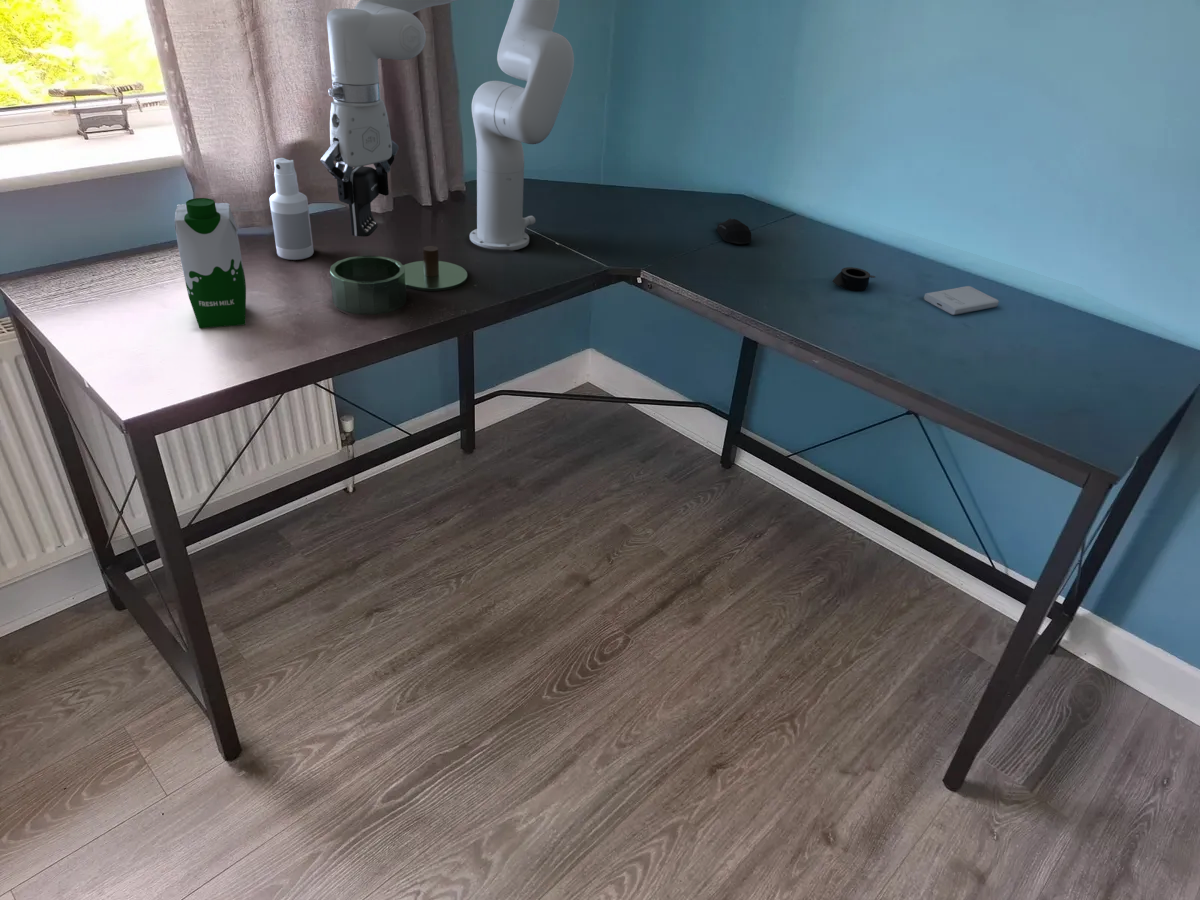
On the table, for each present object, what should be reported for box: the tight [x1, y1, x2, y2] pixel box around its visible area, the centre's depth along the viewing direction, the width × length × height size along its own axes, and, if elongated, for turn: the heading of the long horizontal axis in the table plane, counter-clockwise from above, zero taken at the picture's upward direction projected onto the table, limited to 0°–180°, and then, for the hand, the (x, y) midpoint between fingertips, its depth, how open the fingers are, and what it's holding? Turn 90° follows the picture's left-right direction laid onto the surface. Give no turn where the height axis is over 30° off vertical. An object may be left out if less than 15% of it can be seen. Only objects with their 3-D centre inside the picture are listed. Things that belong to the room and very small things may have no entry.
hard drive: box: [923, 285, 1000, 316], centre depth 169 cm, size 2×8×12 cm
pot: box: [329, 255, 407, 316], centre depth 146 cm, size 12×12×6 cm
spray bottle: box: [268, 157, 315, 261], centre depth 158 cm, size 7×7×18 cm
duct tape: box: [831, 266, 876, 293], centre depth 172 cm, size 8×10×3 cm
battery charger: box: [348, 165, 380, 238], centre depth 150 cm, size 7×4×11 cm, turn 175°
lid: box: [402, 245, 468, 292], centre depth 157 cm, size 13×13×6 cm
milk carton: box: [174, 197, 247, 329], centre depth 133 cm, size 9×9×20 cm
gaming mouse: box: [716, 218, 752, 245], centre depth 192 cm, size 6×15×4 cm, turn 13°
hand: (364, 197), depth 149 cm, fingers closed on battery charger, 7 cm apart
